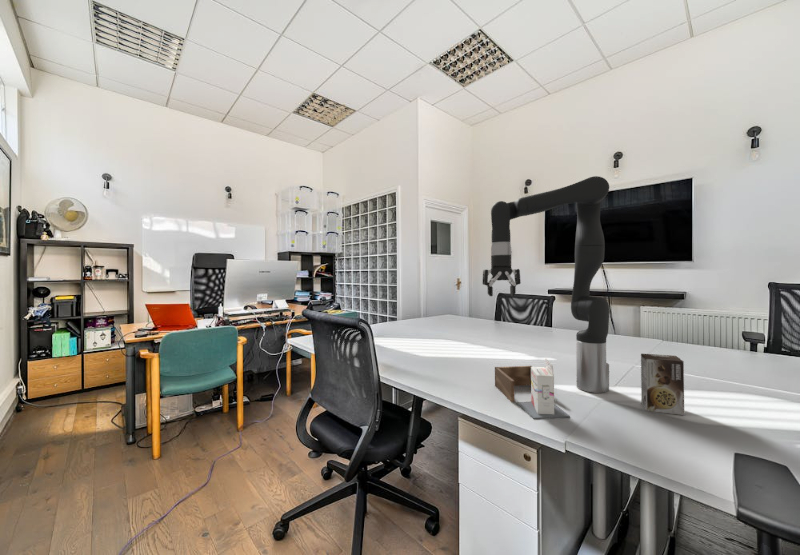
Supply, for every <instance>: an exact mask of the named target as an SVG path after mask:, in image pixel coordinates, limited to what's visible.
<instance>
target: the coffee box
mask: <svg viewBox="0 0 800 555" xmlns="http://www.w3.org/2000/svg"><path fill="white" fill-rule="evenodd" d="M684 365H685V364H684V360H682V359H681V358H680V357H678V356H676V355H670V354H669V355H668V354H652V353H640V366H641V367H640V373H641V374H640V378H641V380H640V383H641V385H640V388H641V394H640V395H641V397H640V398H641V404H642V406H643V407H644V409H645V410H646V411H648V412H653V411H654V412H653V413H655V412H656V413H662V414H670V415H671V414H672V415H678V416H685V384H684V383H685V374H684V372H685V370H684Z"/></svg>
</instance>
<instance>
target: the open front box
mask: <svg viewBox="0 0 800 555" xmlns="http://www.w3.org/2000/svg"><path fill="white" fill-rule="evenodd" d="M531 367H533V366H532V365H520V366H518V365H517V366H516V365H513V366H494V387H496V389H498V390H499V391H500V393H502V394H503V395H504V396H505V398H507V400H509V401H510V402H511V403H515V387H518V386H519V387H520V386H521V387H522V386H530V387H531Z"/></svg>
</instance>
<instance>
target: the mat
mask: <svg viewBox="0 0 800 555" xmlns="http://www.w3.org/2000/svg"><path fill="white" fill-rule="evenodd" d="M516 404H518V406H519V407H520V408H521V409H523V411H524V412H526V413H527V414H528V415H529V416H530V417H531V418H532V419H533V420H541V419H542V420H543V419H545V420H546V419H562V418H565V419H566V418H567V419H568V418H571V415H570V414H568V412H565V411H564V409H561V407H559V406H558V405H556V404H555V403H554V415H552V414H538V413H537V411H536V409H535V408H534V406H533V404H532V402H531V400H530V401H517V402H516Z"/></svg>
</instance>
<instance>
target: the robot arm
mask: <svg viewBox="0 0 800 555" xmlns="http://www.w3.org/2000/svg"><path fill="white" fill-rule="evenodd" d="M609 192H610V184H609V182H608V180H607V179H606V178H605V177H603V176H597V175H595V176H590V177H588V178H584V179H582V180H579V181H578V182H574V183H573V184H570V185H567V186H564V187H563V186H562V187H560V188H556V189H553V190H552V189H551V190H549V191H543V192H540V193H536V194H531V195H526V196H522V197H520V198H517V199H516V200H514V201H510V202H505V201H502V200H500V201H497V202H495V203H494V204H493V205H492V206H491V209H490V215H491V217H490V218H491V247H490V261H491V262H490V264H491V266H490V267H491V268H490V269H483V270H482V285H484V286H486V287H487V296H489V297H493V296H494V294H493V293H494V292H493V291H494V290H493V289H494V288H493V285H494V284H495V282H497V281H507V282H508V283H509V285H510V286H509V291H510V292H509V295H510V296H511V297H512V296H513V297H514V296H515V295H516V292H517V290H516V287H517V286H518V285H520V284H521V271H520V269H519V268H515V269H513V268H512V244H511V228H510V227H511V226H510V225H511V224H510V223H511V220H515V219H517V218H520V217H525V216H532V215H536V214H541V213H544V212H547V211H550V210H552V209H555V208H558V207H562V206H565V205H569V204H576V206H575V207H576V215H577V216H576V218H577V219H576V231H575V239H574V240H575V242H574V276H573V286H572V293H571V300H570V310H571V315H572V317H573V318H574V319H575V320H578V321H582V322H587V323H588V326H587V328H585V329H584V330H579V331H576V335H575V336H576V337H575V338H576V340H575V341H576V347H575V348H576V351H575V352H576V382H575V383H576V388H578V389H580V390H582V391H584V392H588V393H595V394H601V393H606V392H609V391H610V364H609V363H607V337H608V334H609V329H610V328H609V326H610V325H609V324H610V306H609V303H608V300H606V298H605V297H602V296H590V292H591V290H590V289H591V284H592V281H593V279H594V278H595V275H596V274H597V273H598V271H599V270H600V268H601V266H602V265H603V263H604V260H605V250H606V248H605V246H606V245H605V244H606V243H605V236H604V231H603V229H602V228H603V227H602V223H601V206H602V201H603V200H604V199H605V198H606V196H607V195H608V193H609ZM490 274H491V278H490V279H489V276H490ZM512 274H513V275H514V276H513V277H514V279H513V277H512ZM488 280H489V281H488Z"/></svg>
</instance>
